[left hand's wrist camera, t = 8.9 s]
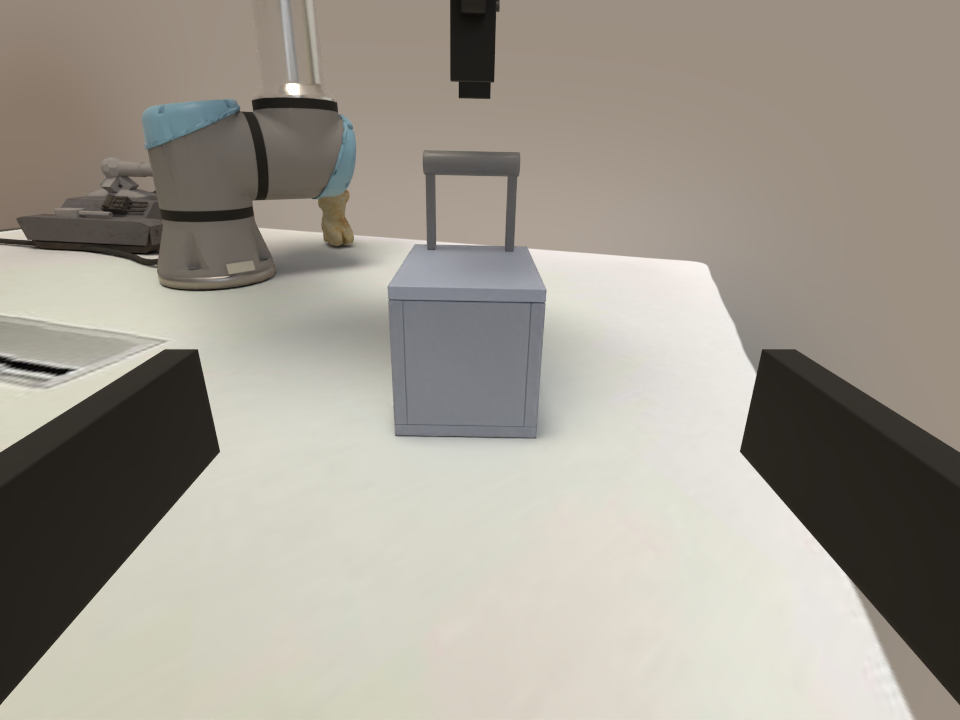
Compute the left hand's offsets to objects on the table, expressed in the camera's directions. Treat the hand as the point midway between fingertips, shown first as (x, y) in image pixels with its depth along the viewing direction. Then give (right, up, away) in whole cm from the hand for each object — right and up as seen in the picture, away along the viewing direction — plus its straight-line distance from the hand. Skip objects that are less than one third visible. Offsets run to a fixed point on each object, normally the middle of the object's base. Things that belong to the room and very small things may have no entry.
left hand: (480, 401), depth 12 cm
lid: (-1, +7, +27) cm, 28 cm away
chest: (-1, -2, +30) cm, 30 cm away
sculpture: (-28, +23, +88) cm, 95 cm away
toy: (-66, +24, +87) cm, 112 cm away
